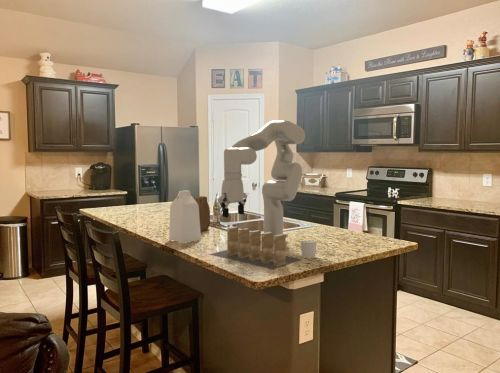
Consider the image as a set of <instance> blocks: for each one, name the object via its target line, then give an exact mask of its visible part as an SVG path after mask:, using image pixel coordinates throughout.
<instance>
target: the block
mask: <svg viewBox="0 0 500 373" xmlns="http://www.w3.org/2000/svg"><path fill="white" fill-rule="evenodd" d="M193 198H194V200H195V201H196V202H197V204H198V206H199V218H200V232H204V231H207V230H209V227H210V225H211V209H210V208H211V207H210V205H209V203H208V197H207V196H205V195H203V196H202V195H201V196H200V195H199V196H195V197H193Z"/></svg>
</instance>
